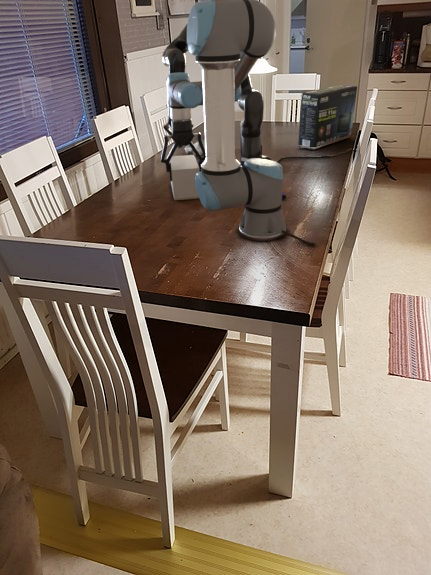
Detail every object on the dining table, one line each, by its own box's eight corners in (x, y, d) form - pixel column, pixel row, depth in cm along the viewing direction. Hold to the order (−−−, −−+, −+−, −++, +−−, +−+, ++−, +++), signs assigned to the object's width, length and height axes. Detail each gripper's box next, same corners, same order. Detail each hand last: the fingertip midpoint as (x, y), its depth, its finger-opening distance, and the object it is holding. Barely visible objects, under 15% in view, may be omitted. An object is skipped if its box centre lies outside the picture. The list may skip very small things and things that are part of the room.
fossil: (208, 150, 224) (188, 131, 227) (198, 168, 231) (178, 149, 234) (228, 148, 238) (208, 130, 241) (217, 165, 244) (198, 147, 248)
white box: (171, 184, 195) (168, 156, 189) (195, 182, 196) (194, 154, 190) (174, 200, 178) (171, 170, 172) (201, 198, 179) (199, 168, 173)
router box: (314, 151, 231) (318, 94, 217) (296, 148, 237) (299, 92, 224) (352, 138, 251) (358, 85, 238) (335, 135, 258) (340, 83, 245)
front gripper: (211, 115, 171) (213, 173, 183) (149, 119, 169) (155, 178, 180) (214, 119, 165) (216, 179, 176) (149, 123, 162) (156, 184, 174)
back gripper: (192, 101, 188) (194, 144, 197) (159, 103, 186) (163, 146, 195) (194, 104, 181) (196, 148, 190) (160, 106, 180) (164, 151, 189)
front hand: (185, 178), depth 178 cm, fingers closed on white box, 10 cm apart
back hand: (179, 147), depth 193 cm, fingers closed
